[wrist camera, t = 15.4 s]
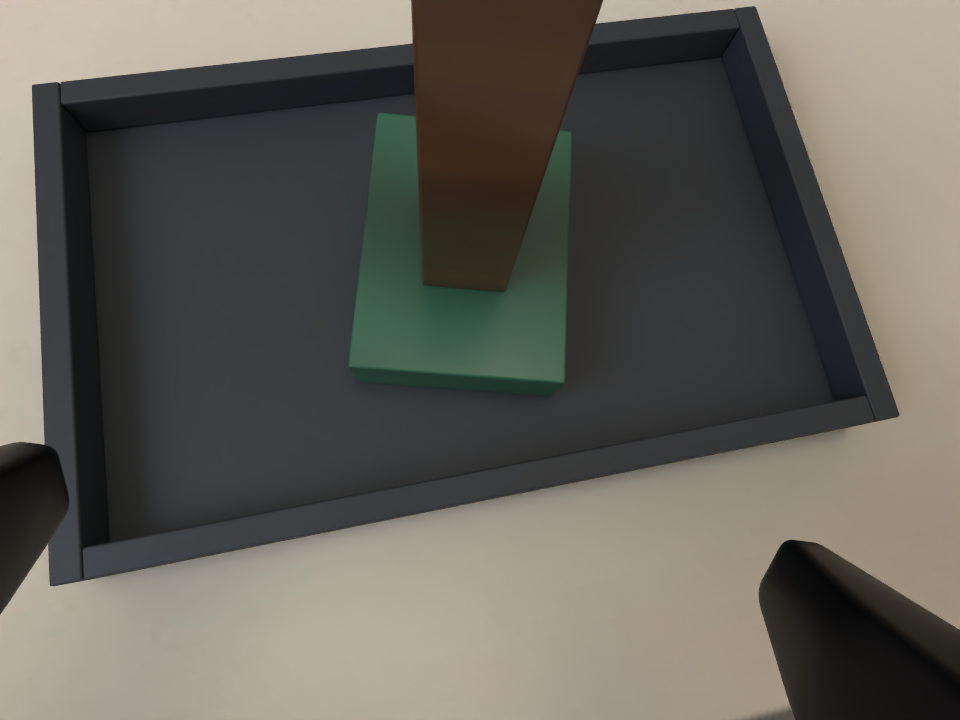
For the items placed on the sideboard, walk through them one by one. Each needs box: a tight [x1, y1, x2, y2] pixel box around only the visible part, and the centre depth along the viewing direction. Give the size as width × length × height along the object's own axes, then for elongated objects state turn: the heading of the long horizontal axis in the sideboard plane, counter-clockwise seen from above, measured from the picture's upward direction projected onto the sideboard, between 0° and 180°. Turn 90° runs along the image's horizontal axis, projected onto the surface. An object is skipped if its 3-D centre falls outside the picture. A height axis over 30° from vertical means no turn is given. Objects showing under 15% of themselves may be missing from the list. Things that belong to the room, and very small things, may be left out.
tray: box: [32, 6, 899, 586], centre depth 20 cm, size 24×15×2 cm, turn 101°
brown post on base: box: [348, 0, 603, 396], centre depth 13 cm, size 8×6×14 cm
